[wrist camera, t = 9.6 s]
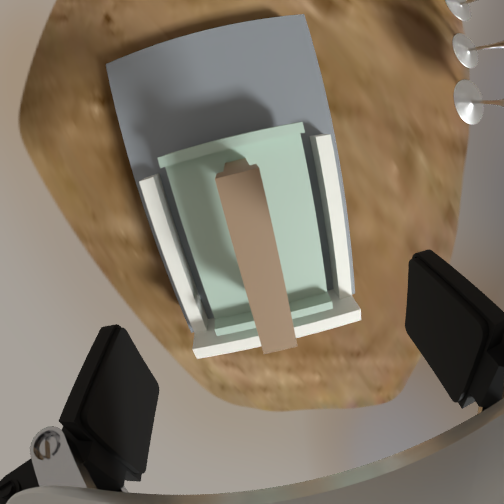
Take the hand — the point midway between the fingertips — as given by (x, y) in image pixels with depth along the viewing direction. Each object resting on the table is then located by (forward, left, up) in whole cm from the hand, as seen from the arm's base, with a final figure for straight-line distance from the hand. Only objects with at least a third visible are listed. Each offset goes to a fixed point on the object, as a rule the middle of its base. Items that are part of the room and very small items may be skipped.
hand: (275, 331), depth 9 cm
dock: (-2, 0, -16) cm, 16 cm away
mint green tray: (0, 0, -13) cm, 13 cm away
